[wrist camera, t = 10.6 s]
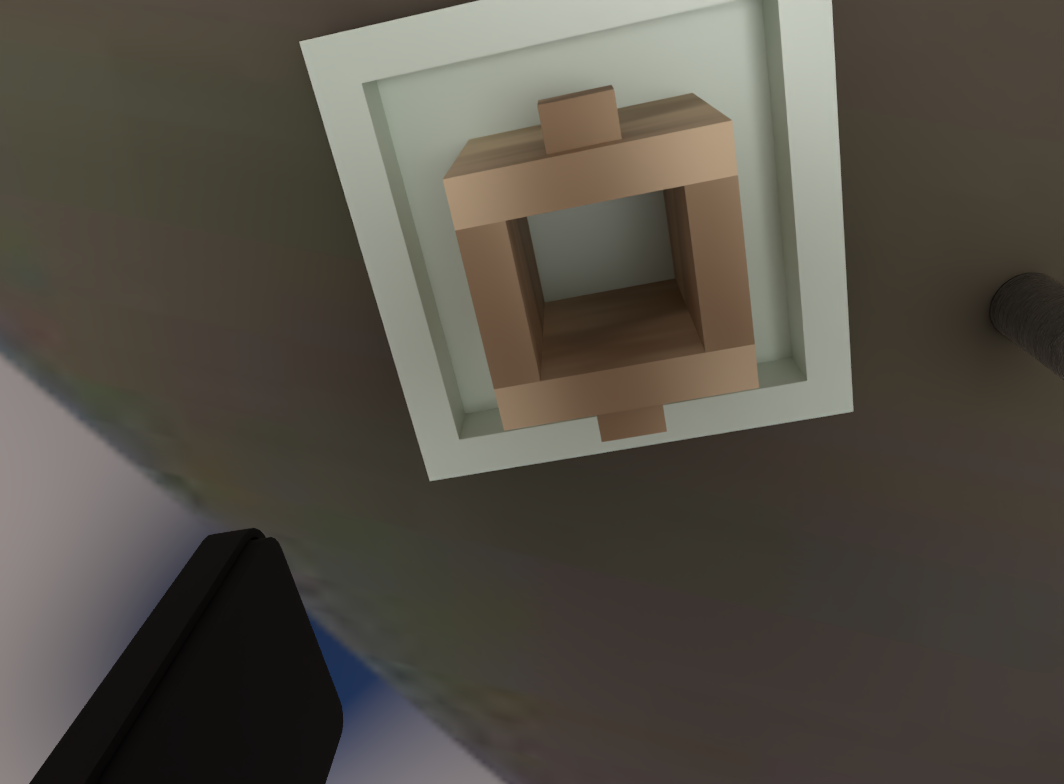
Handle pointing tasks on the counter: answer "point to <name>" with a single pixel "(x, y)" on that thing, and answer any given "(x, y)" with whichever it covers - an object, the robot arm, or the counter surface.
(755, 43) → the tray
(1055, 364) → the post
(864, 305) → the counter surface
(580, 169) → the ring
